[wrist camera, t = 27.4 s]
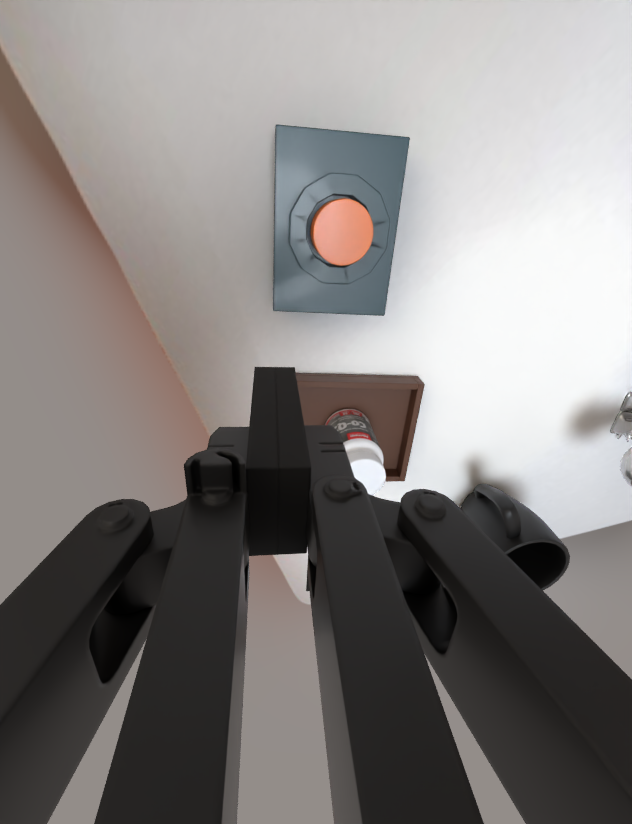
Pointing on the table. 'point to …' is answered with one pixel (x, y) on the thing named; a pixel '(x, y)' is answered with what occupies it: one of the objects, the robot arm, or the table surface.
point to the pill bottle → (360, 448)
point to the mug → (518, 534)
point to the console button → (342, 231)
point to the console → (318, 184)
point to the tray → (368, 409)
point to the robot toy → (625, 426)
